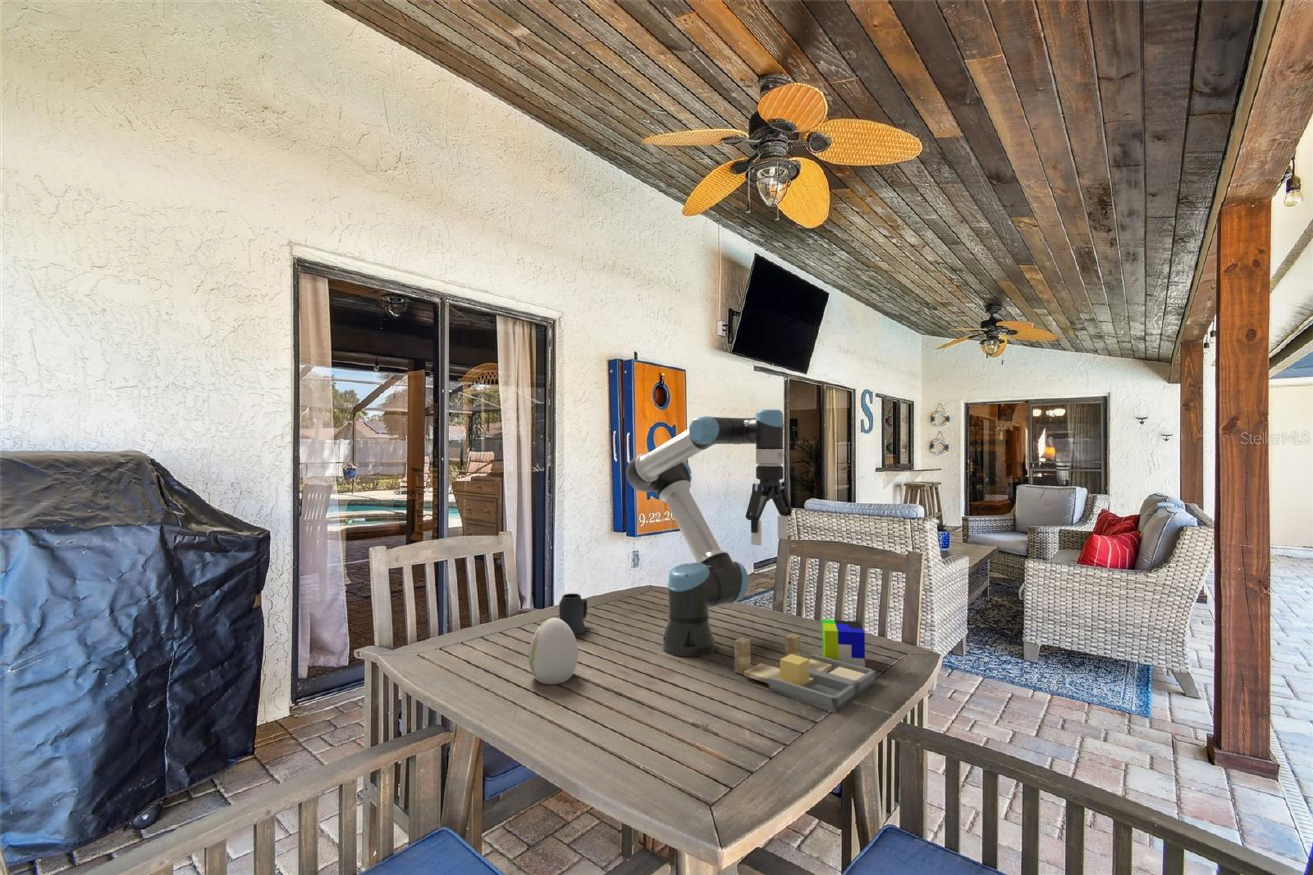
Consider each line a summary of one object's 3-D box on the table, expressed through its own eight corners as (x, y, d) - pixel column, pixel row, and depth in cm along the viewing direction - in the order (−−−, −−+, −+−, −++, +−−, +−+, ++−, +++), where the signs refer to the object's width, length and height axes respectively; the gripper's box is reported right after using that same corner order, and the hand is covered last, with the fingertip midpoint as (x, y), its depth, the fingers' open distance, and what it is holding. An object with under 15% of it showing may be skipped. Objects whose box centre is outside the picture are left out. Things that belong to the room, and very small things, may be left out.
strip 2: (781, 669, 153) (781, 638, 153) (796, 661, 159) (796, 631, 159) (817, 680, 146) (817, 648, 146) (832, 671, 152) (831, 640, 152)
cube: (780, 680, 142) (780, 659, 142) (790, 674, 145) (790, 654, 145) (798, 686, 138) (798, 664, 138) (809, 679, 142) (809, 659, 142)
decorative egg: (548, 665, 157) (548, 609, 157) (587, 673, 151) (587, 615, 151) (518, 682, 146) (518, 621, 146) (559, 691, 140) (559, 628, 140)
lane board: (768, 690, 141) (768, 678, 141) (813, 665, 157) (813, 653, 157) (835, 712, 129) (835, 698, 129) (876, 682, 145) (876, 670, 145)
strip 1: (729, 674, 150) (729, 642, 150) (747, 665, 156) (747, 635, 156) (797, 696, 137) (797, 661, 137) (813, 685, 143) (813, 652, 143)
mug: (574, 637, 179) (574, 600, 179) (550, 633, 183) (550, 597, 184) (596, 627, 190) (596, 592, 190) (573, 623, 194) (573, 588, 194)
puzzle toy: (864, 671, 153) (864, 632, 153) (824, 668, 155) (824, 630, 155) (859, 657, 163) (859, 621, 163) (822, 655, 165) (821, 619, 165)
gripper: (756, 466, 152) (756, 549, 152) (803, 464, 171) (804, 537, 171) (732, 466, 157) (732, 545, 157) (781, 463, 176) (781, 535, 176)
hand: (769, 541), depth 164 cm, fingers open, 13 cm apart
